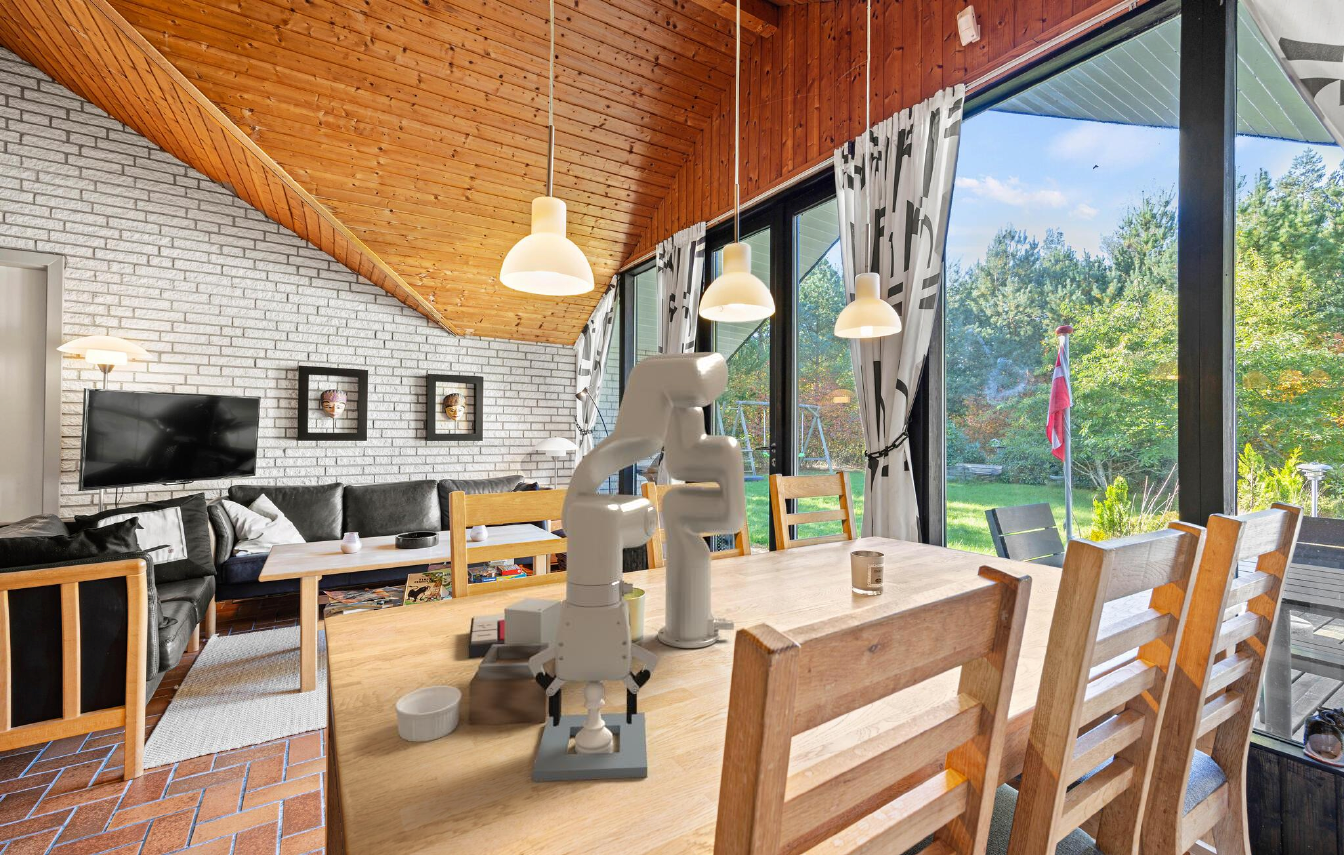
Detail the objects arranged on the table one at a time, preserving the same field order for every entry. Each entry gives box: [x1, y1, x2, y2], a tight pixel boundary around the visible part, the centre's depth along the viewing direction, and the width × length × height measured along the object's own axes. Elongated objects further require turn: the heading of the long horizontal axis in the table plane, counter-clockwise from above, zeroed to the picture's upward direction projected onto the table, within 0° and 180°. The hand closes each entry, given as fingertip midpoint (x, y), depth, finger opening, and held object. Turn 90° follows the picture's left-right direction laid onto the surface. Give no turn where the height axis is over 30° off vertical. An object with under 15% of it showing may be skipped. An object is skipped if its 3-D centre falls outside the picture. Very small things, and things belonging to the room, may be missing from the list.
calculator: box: [467, 613, 505, 660], centre depth 117 cm, size 11×4×15 cm
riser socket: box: [468, 643, 555, 726], centre depth 89 cm, size 11×11×8 cm
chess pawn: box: [574, 681, 613, 754], centre depth 77 cm, size 5×5×9 cm
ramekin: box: [394, 685, 463, 742], centre depth 82 cm, size 9×9×4 cm
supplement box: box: [503, 597, 562, 647], centre depth 100 cm, size 7×7×13 cm
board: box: [531, 711, 648, 782], centre depth 77 cm, size 14×14×1 cm
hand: (593, 720), depth 77 cm, fingers open, 9 cm apart
